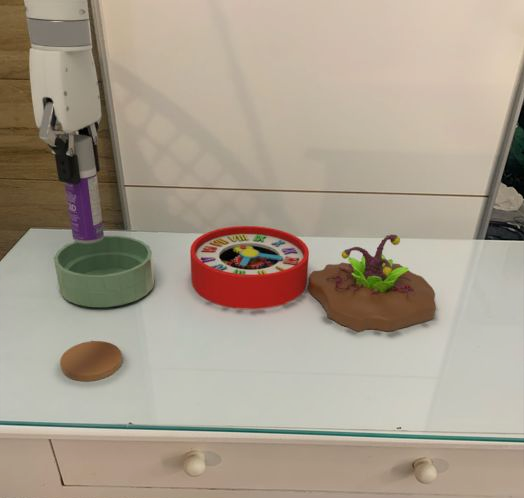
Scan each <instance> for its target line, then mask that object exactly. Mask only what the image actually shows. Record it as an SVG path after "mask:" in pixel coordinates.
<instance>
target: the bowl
mask: <svg viewBox="0 0 524 498" xmlns="http://www.w3.org/2000/svg"><path fill="white" fill-rule="evenodd" d="M153 259H154V258H153V251H152V249H151V247H150V245H148V244H146V243H145V242H144V241H142V240H140V239H137V238H133V237H129V236H122V235H104V238H103V239H102V240H101V241H99V242H96V243H90V244H83V243H78V242H76V241H73V242H70V243H68V244H65V245H64V246H62V247H61V248H60V249H58V250H57V251H56V253H55V255H54V256H53V261H54V262H53V263H54V266H55V267H54V268H55V272H56V277H57V282H58V286H59V293H60V295H61V297H63V298H64V299H65V300H66V301H68V302H70V303H71V304H72V303H73V304H75V305H77V306H82V307H87V308H113V307H118V306H123V305H126V304H131V303H133V302H137V301H138V300H140V299H142V298H143V297H145V296H147V295H148V294H149V293H150V292H151V291H152V290H153V288H154V285H155V274H154V273H155V271H154V261H153Z"/></svg>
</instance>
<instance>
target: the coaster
mask: <svg viewBox="0 0 524 498" xmlns="http://www.w3.org/2000/svg"><path fill="white" fill-rule="evenodd" d="M122 363H123V356H122V352H121V350H120V348H119V347H118V346H116V345H115V344H114V343H111V342H107V341H101V340H91V341H85V342H80V343H78V344H75V345H73V346H71V347H69V348H68V349H67V350H65V352H63V354H62V355H61V357H60V359H59V365H60V370H61V371H62V373H63V374H64V375H65V376H66V377H67V378H69V379H71V380H74V381H78V382H93V381H99V380H101V379H102V380H103V379H105V378H107V377H110V376H111V375H113V374H115V373H116V372H117V371H118V370H119V369H120V367H121V365H122Z"/></svg>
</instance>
